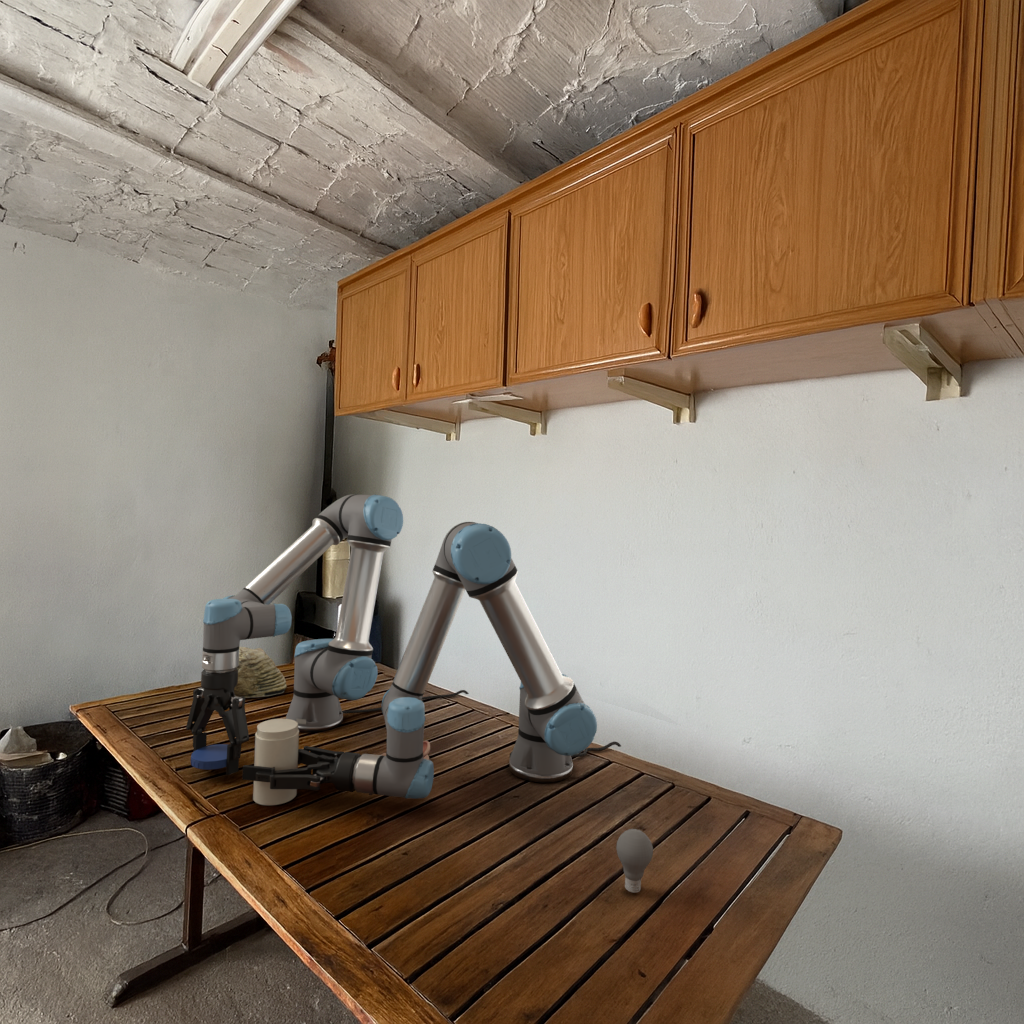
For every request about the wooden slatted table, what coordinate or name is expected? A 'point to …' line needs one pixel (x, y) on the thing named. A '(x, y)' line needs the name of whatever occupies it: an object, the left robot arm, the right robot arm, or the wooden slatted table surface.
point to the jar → (275, 757)
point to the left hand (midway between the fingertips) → (215, 767)
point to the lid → (210, 757)
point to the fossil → (258, 675)
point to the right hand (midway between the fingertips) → (255, 762)
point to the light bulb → (634, 857)
